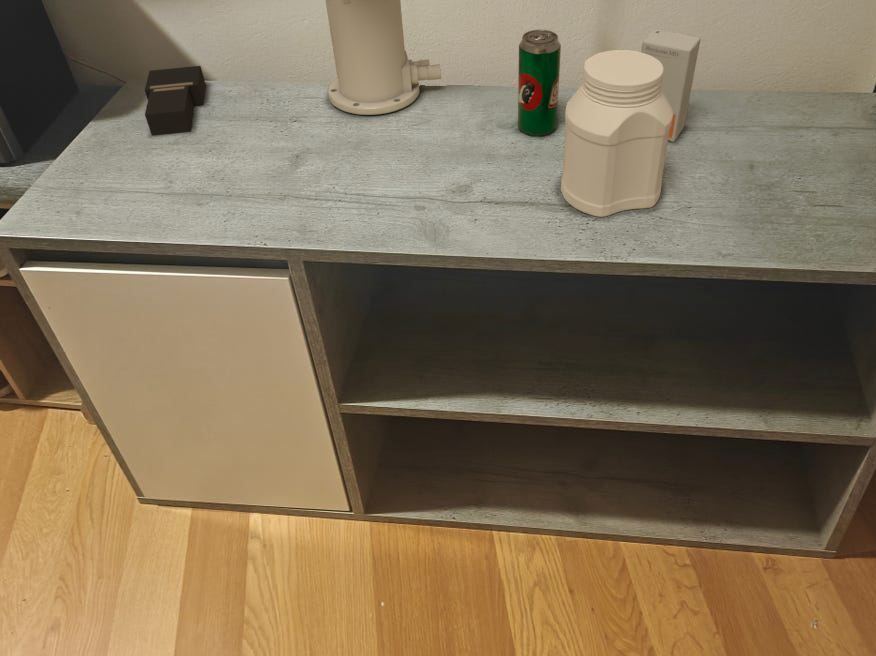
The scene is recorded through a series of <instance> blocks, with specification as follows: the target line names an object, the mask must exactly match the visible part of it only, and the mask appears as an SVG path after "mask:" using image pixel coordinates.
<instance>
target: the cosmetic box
mask: <svg viewBox="0 0 876 656" xmlns="http://www.w3.org/2000/svg"><path fill="white" fill-rule="evenodd" d="M700 44H701V37H698V36H693V35H688V34H684V33H681V32H676V31H666V30H662V29H661V30H660V29H656V28H653V29H652V30H651V31H650V32H649V34H648V35H647V36H646V37H645V38H644V40H643V41H642V45H641V51H640V52H641V53H645V54H648V55H650V56H652V57H654V58H656V59H657V60H659V61H660V62H661V64H662V65H663V68H664V72H663V77H662V87H661V90H662V92H663V93H664V95H665V97H666V99H667V100H668V102H669V104H670V106H671V108H672V111H673V118H672V124H671V128H670V131H669V137H668V142H671V143H674V142H675V141H676V140H677V138H678V137H679V135H680V134H681V133H682V131H683V129H684V128H685V125H686V121H687V115H688V109H689V104H690V99H691V92H692V88H693V82H694V77H695V76H694V75H695V71H696V65H697V59H698V55H699V50H700Z"/></svg>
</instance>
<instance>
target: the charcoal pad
mask: <svg viewBox="0 0 876 656" xmlns="http://www.w3.org/2000/svg"><path fill="white" fill-rule="evenodd" d="M182 86H189V90H190V93H191V97H192V100H193V103H194V107H200V106H204V104H205V97H206V96H205V95H206V90H207V89H206V88H207V84H206V80H205V77H204V73H203V69H202V66H201V65H192V66H184V67H183V66H182V67H172V68H164V69H152V70H149V71H148V75H147V79H146V83H145V86H144V87H145V88H144V93H145V96H146V98H147V100H148V99H149V95H150V90H154V89H162V88H172V87H182Z"/></svg>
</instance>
